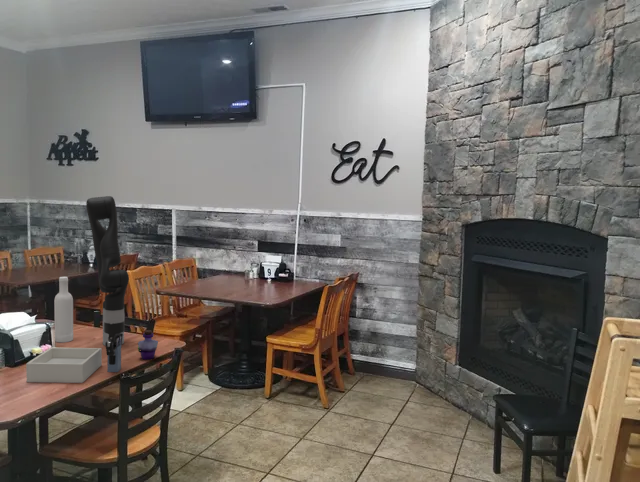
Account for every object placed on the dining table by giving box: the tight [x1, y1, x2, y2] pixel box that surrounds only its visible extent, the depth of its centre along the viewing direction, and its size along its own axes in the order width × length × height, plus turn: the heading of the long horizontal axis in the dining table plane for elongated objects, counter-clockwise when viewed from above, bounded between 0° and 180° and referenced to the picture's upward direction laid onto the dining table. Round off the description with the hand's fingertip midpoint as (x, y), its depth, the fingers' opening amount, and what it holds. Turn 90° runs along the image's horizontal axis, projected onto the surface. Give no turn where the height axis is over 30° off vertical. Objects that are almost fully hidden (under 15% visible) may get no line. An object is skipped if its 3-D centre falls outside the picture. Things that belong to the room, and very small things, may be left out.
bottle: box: [53, 276, 74, 343], centre depth 243 cm, size 8×8×30 cm
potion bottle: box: [137, 329, 159, 361], centre depth 223 cm, size 9×9×12 cm
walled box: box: [25, 347, 103, 384], centre depth 202 cm, size 20×20×7 cm
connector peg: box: [106, 344, 122, 373], centre depth 207 cm, size 4×4×10 cm
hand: (114, 362), depth 207 cm, fingers closed on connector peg, 4 cm apart
